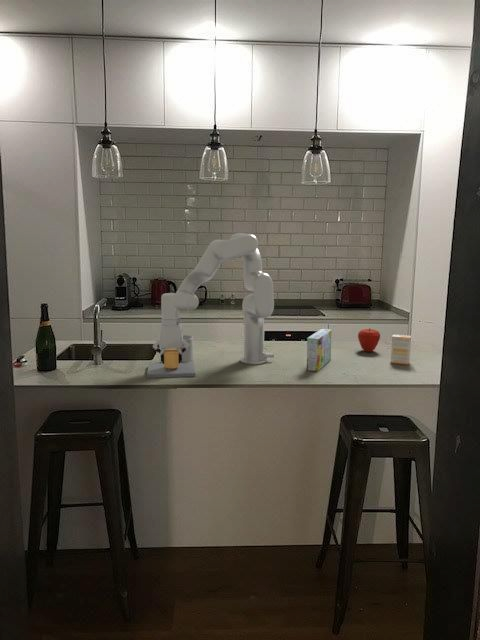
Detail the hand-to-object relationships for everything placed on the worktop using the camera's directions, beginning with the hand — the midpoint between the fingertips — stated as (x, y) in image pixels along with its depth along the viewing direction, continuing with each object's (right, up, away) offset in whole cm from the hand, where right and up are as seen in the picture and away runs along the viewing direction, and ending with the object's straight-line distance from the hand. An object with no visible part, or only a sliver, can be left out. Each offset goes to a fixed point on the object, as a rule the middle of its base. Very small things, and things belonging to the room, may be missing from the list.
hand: (171, 362), depth 216 cm
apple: (+95, +2, +38) cm, 102 cm away
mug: (+3, 0, +21) cm, 21 cm away
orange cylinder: (0, -2, 0) cm, 2 cm away
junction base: (0, -4, +1) cm, 4 cm away
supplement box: (+105, -2, +18) cm, 106 cm away
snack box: (+66, -3, +13) cm, 67 cm away
